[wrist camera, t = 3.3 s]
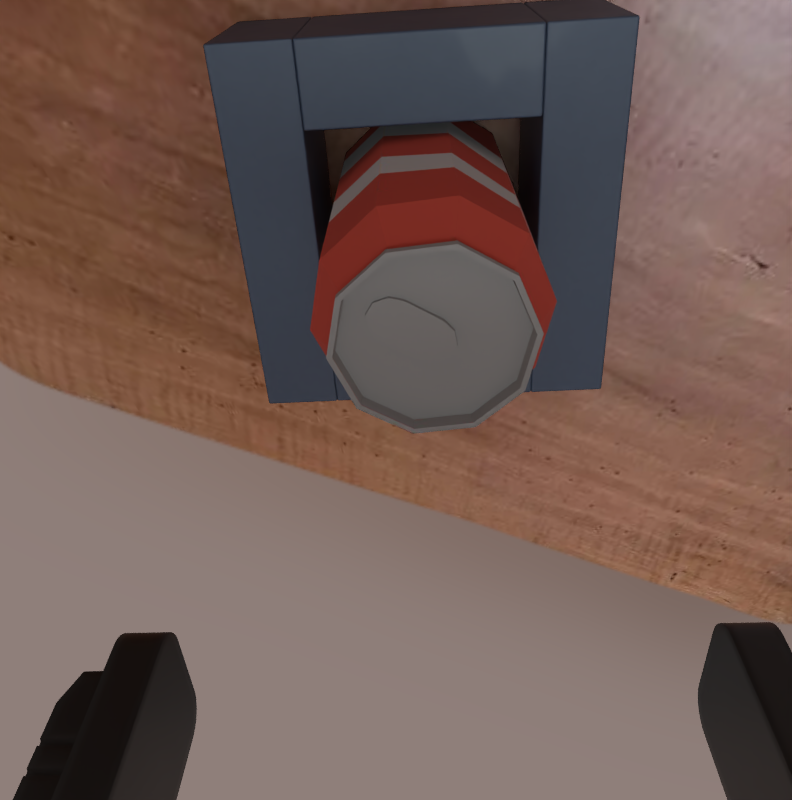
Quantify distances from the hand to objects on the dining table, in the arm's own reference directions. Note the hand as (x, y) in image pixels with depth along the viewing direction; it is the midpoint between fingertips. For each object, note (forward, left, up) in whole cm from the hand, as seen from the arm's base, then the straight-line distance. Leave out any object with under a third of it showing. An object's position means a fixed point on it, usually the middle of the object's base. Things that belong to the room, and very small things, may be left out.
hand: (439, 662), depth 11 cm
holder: (0, +1, -20) cm, 20 cm away
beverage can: (0, +1, -21) cm, 21 cm away
